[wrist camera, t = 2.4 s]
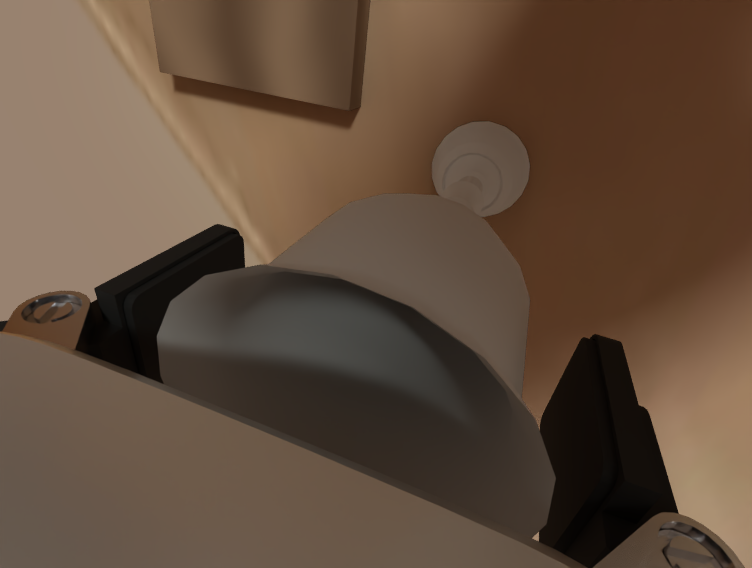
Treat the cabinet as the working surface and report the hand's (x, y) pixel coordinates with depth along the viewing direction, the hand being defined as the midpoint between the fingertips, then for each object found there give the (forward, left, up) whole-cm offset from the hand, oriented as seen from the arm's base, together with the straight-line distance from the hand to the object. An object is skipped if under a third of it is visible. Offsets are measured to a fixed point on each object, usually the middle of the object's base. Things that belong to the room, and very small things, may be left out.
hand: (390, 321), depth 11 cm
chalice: (0, -1, -14) cm, 14 cm away
